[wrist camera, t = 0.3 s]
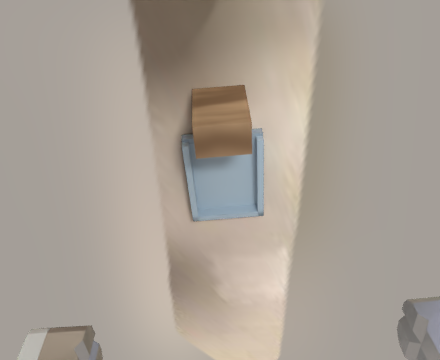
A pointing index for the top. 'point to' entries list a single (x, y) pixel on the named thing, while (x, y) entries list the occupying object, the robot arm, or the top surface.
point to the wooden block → (221, 122)
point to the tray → (225, 182)
